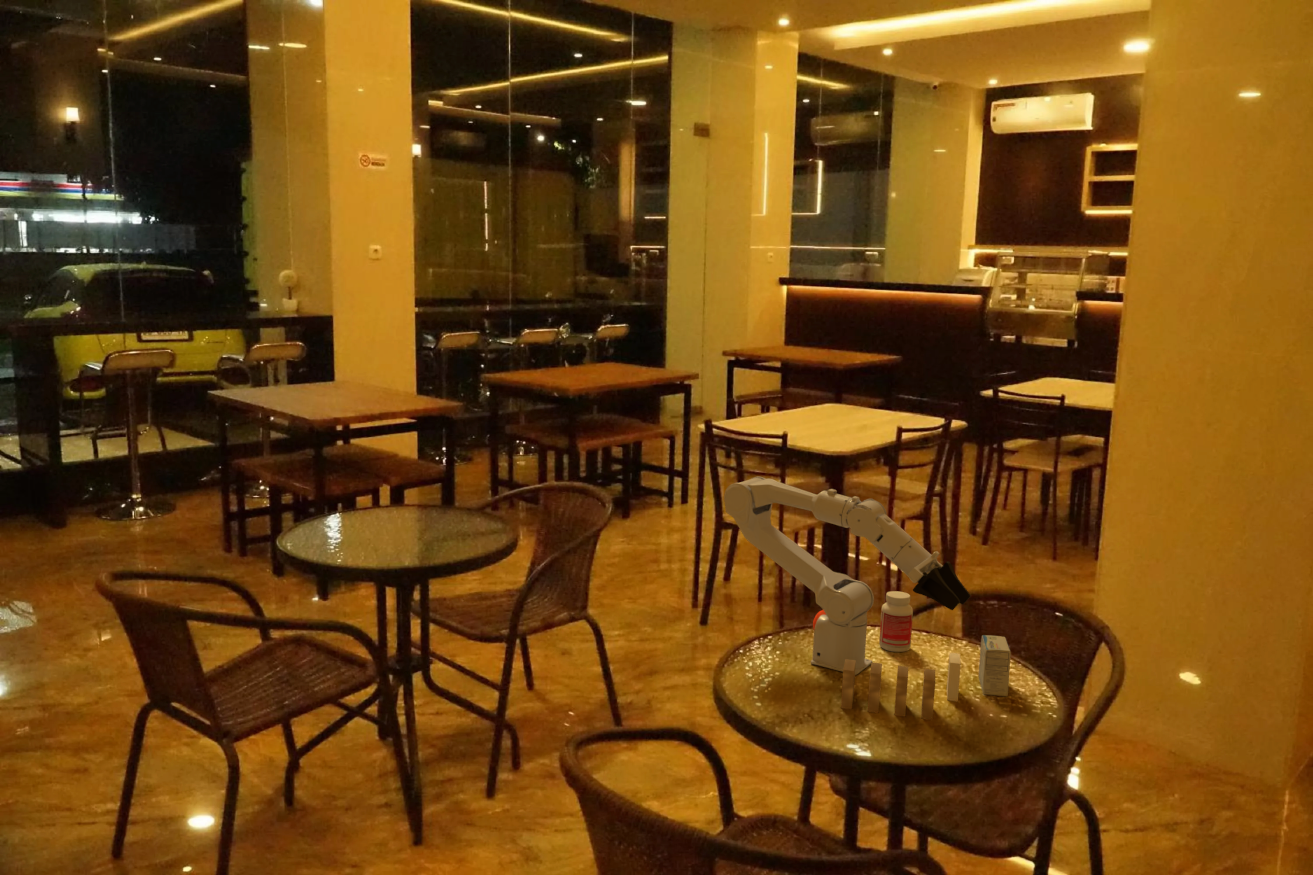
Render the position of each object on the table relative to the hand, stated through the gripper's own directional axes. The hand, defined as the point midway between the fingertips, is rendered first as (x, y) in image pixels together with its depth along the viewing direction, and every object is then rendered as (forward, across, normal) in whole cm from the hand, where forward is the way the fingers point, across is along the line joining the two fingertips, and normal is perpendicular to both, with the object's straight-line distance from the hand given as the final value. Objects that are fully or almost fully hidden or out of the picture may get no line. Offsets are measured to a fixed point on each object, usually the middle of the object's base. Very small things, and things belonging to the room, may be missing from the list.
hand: (961, 603), depth 184 cm
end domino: (+9, +2, +14) cm, 17 cm away
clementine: (-16, +15, +29) cm, 36 cm away
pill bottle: (-6, +19, +21) cm, 29 cm away
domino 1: (-2, -12, +24) cm, 27 cm away
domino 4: (+8, -8, +16) cm, 20 cm away
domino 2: (+2, -11, +21) cm, 24 cm away
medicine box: (+13, +9, +11) cm, 19 cm away
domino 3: (+5, -10, +19) cm, 22 cm away
